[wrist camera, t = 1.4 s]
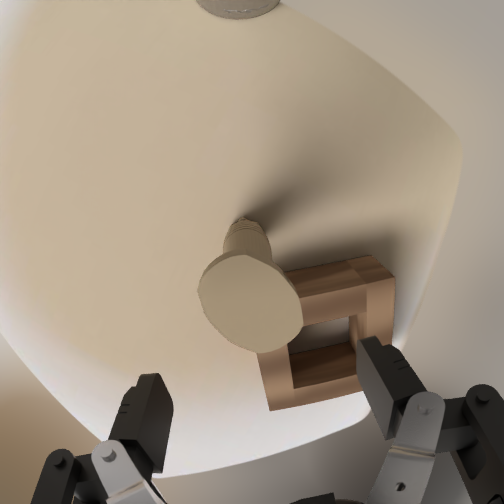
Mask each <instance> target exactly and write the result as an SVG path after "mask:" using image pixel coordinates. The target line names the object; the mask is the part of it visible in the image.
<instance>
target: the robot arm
mask: <svg viewBox="0 0 504 504" xmlns="http://www.w3.org/2000/svg"><path fill="white" fill-rule="evenodd" d="M196 1H197V2H198V3H199V4H200V6H201V7H202V8H204V9H205V10H207V11H208V12H210V13H212V14H214V15H216V16H219V17H223V18H228V19H248V18H252V17H257V16H259V15H262V14H264V13H266V12H268V11H269V10H271V9H273V8H274V7H275V6H276V5H277V4H278V3H279V1H280V0H196ZM356 372H357V377H358V380H359V383H360V385H361V387H362V389H363V391H364V394H365V396H366V398H367V400H368V402H369V405H370V407H371V409H372V411H373V413H374V416H375V418H376V420H377V422H378V424H379V427H380V429H381V431H382V433H383V436H384V438H385V440H388V439H391V438H395V440H394V443H393V445H392V447H391V448H390V450H389V452H388V455H387V457H386V460H385V462H384V464H383V466H382V469H381V471H380V473H379V475H378V478H377V480H376V482H375V484H374V486H373V488H372V490H371V492H370V495H369V496H368V498H367V500H366V502H365V503H362V502H358V501H354V500H348V499H335V498H334V493H329V494H325V495H320V496H315V497H310V498H306V499H301V500H298V501H296V502H293V503H291V504H420V503H421V500H422V497H423V494H424V491H425V489H426V486H427V483H428V480H429V476H430V474H431V470H432V467H433V464H434V460H435V455H434V453H441V452H448V451H450V454H451V456H452V458H453V460H454V462H455V464H456V466H457V469H458V471H459V473H460V475H461V478H462V480H463V482H464V484H465V487H466V489H467V491H468V494H469V496H470V498H471V501H472V503H473V504H504V400H503V399H502V397H501V396H500V395H499V393H498V392H497V391H496V390H495V389H494V388H493V387H491V386H489V385H485V384H479V385H475V386H473V387H472V388H470V389H469V390H468V392H467V394H466V397H461V398H453V399H443V398H442V397H441V396H439V395H438V394H436V393H433V392H428V391H427V390H426V388H425V387H424V385H423V384H422V382H421V381H420V380H419V378H418V376H417V375H416V373H415V372H414V370H413V369H412V368H411V367H410V365H409V363H408V362H407V360H405V358H404V356H403V355H402V353H401V352H400V350H399V349H397V348H395V347H394V346H392V345H390V344H388V345H384V346H383V345H382V344H381V342H380V341H379V339H378V338H377V336H375V335H374V336H370V337H366V338H363V339H359V340H357V347H356ZM173 410H174V409H173V401H172V398H171V396H170V394H169V392H168V390H167V388H166V386H165V384H164V382H163V379H162V377H161V375H160V374H159V373H152V374H141V375H140V377H139V379H138V382H137V385H136V387H131V388H130V389H129V390H128V391H127V392H126V394H125V395H124V397H123V399H122V402H121V406H120V407H119V410H118V414H117V416H116V418H115V421H114V424H113V427H112V430H111V433H110V435H109V438H108V440H106V441H103V442H101V443H100V444H98V445H97V446H96V447H95V448H94V450H93V452H92V453H91V454H86V455H81V456H74V455H73V454H72V453H71V452H70V451H69V450H66V449H58V450H55V451H53V452H52V453H51V454H50V455H49V456H48V457H47V459H46V461H45V464H44V467H43V469H42V472H41V475H40V478H39V481H38V484H37V487H36V489H35V492H34V495H33V498H32V501H31V504H71V502H72V499H73V495H75V496H74V501H73V504H168V502H167V501H166V500H165V498H164V497H163V496H162V494H161V493H160V491H159V490H158V488H157V487H156V486H155V484H154V483H153V482H152V480H151V478H152V473H162V472H163V466H164V460H165V455H166V449H167V443H168V438H169V433H170V427H171V422H172V417H173Z"/></svg>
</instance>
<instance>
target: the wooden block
mask: <svg viewBox="0 0 504 504" xmlns="http://www.w3.org/2000/svg"><path fill="white" fill-rule="evenodd" d="M284 273H285V274H286V276H287V277H288V278H289V280H290V281H291V282H292V284H293V285H294V287H295V289H296V292H297V294H298V298H299V301H300V304H301V310H302V316H303V326H306V325H311V324H316V323H321V322H325V321H330V320H334V319H339V318H343V317H347V316H349V342H346V343H342V344H338V345H333V346H329V347H325V348H320V349H316V350H311V351H306V352H301V353H296V354H291V355H289V354H288V347H287V344H286V345H284V346H282V347H281V348H279V349H276V350H274V351H271V352H266V353H257V358H258V362H259V367H260V371H261V375H262V380H263V384H264V388H265V393H266V397H267V401H268V406H269V410H270V411H274V410H280V409H286V408H291V407H296V406H301V405H306V404H311V403H315V402H320V401H324V400H328V399H333V398H337V397H341V396H345V395H349V394H352V393H356V392H360V391H363V389H362V387H361V385H360V383H359V380H358V377H357V372H356V347H357V340H359V339H363V338H366V337H370V336H374V335H375V336H377V338H378V339H379V341H380V342H381V344H382V345H383V346H384V345H388V344H390V345H392V334H393V320H394V300H395V277H394V276H393V275H392V274H391V273H390V272H389V271H388V270H387V269H386V268H385V267H384V266H383V265H382V264H380V263H379V262H378V261H377V260H376V259H375V258H374V257H373V256H372V255H369V256H364V257H360V258H355V259H350V260H345V261H340V262H335V263H330V264H325V265H320V266H315V267H310V268H305V269H299V270H294V271H289V272H284Z"/></svg>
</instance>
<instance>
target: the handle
mask: <svg viewBox="0 0 504 504" xmlns="http://www.w3.org/2000/svg"><path fill="white" fill-rule="evenodd" d="M197 291H198V295H199V298H200V301H201V304H202V307H203V310H204V313H205V315H206V317H207V319H208V320H209V322H210V323H211V324H212V325H213V326H214V327H215V328H216V329H217V330H218V331H219V332H220V333H221V334H222V335H223V336H224V337H225V338H226V339H227V340H228V341H230V342H231V343H233V344H235V345H237V346H239V347H242V348H244V349H247V350H250V351H253V352H255V353H266V352H271V351H274V350H276V349H279V348H281V347H282V346H284V345H286V344H287V343H289V342H290V341H291V340H293V339H294V338H295V337H296V336H297V335H298V333H299V332H300V330H301V328H302V326H303V316H302V310H301V304H300V301H299V298H298V294H297V292H296V289H295V287H294V285H293V284H292V282H291V281H290V280H289V278H288V277H287V276H286V274H285V273H284V272H283V271H282V269H281V268H280V267H279V266H278V265H277V264H276V263H274V262H273V260H272V253H271V247H270V244H269V241H268V238H267V236H266V234H265V233H264V231H263V230H262V228H261V226H260V225H259V223H257V222H252V221H249V220H247V219H246V218H240V219H239V221H238V222H237V223H235V224H233V225H231V226H230V228H229V230H228V232H227V235H226V237H225V240H224V246H223V254H222V255H221V256H219V257H218V258H216V259H215V260H214V261H213V262H212V263H210V264H209V266H208V267H207V268H206V269H205V271H204V272H203V275H202V277H201V279H200V283H199V286H198V290H197Z"/></svg>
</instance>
